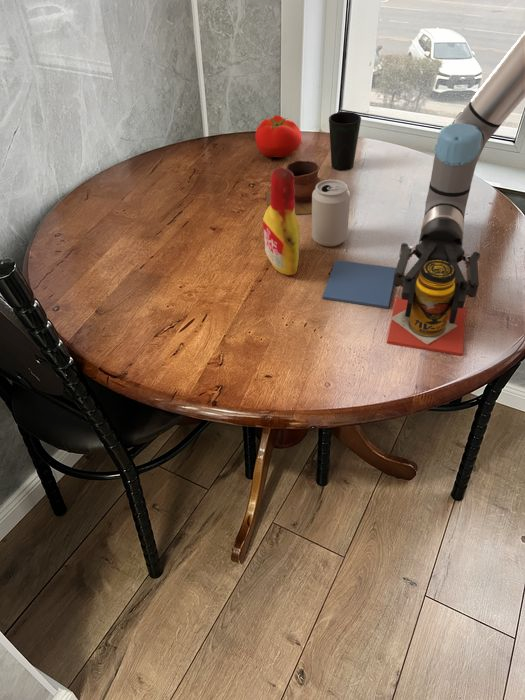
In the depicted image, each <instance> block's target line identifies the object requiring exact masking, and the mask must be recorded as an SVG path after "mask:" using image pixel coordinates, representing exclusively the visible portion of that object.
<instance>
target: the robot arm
mask: <svg viewBox="0 0 525 700" xmlns="http://www.w3.org/2000/svg"><path fill="white" fill-rule="evenodd" d="M524 99H525V30H524V31H523V33H522V34H521V35H520V37H519V38H518V39H517V41H515V43H514V44H513V45H512V47H511V48H510V49H509V50H508V52H507V53H506V54H505V56H504V57H503V58H502V60H501V61H500V62H499V63H498V64H497V66H496V67H495V69H494V70H493V71H492V73H490V75H489V76H488V77H487V79H486V80H485V81H484V83H483V84H482V85H481V87H479V89H478V91H476V93H475V94H474V96H473V97H472V98H471V100H470V101H469V102H468V103H467V105H466V106H465V107H464V108H463V110H461V111H460V112H459V113H458V114H457V116H456V117H455V118H454V120H453V121H452V123H450V124H448V125H445V126H444V127H442V128H441V129H440V131H439V133H438V138H437V142H436V144H435V146H434V158H433V164H432V170H431V175H430V181H429V186H428V192H427V195H426V201H425V208H424V215H423V218H422V223H421V230H420V235H419V241H418V243H416V245H415V246H409V244H408V243H406V242H401V244H400V247H399V248H400V249H399V255H398V257H399V259H398V263H397V265H396V267H395V268H396V270H395V274H394V280H393V287H402V289H401V290H402V291H401V296H400V298H402V299H403V300H408V302H407V308H406V313H405V316H406V317H410V313H411V308H412V302H413V297H414V291H415V286H416V281H417V279H418V277H419V275H420V272H421V271H420V270H421V267H422V265H423V264H424V263H425V262H427V261H430V260H445V261H447V262H449V263H451V264H452V265H453V266H454V267H455V269H456V275H455V281H454V283H455V290H454V296H453V299H452V303H451V309H450V319H449V323H451V324H454V322H455V319H456V315H457V311H458V308H463V307H465V304H466V299H467V296H468V298H469V297H470V298H475V297H476V295H477V293H478V289H479V285H480V279H479V269H478V268H479V267H478V264H479V260H480V257H481V253H480V252H479V251H473V252H472V253H471V254H469V253H466V252H465V249H464V248H463V242H464V241H463V239H464V227H465V216H466V209H467V203H468V200H469V196H470V191H471V188H472V187H471V186H472V182H473V178H474V174H475V170H476V167H477V164H478V161H479V159H480V156H481V155H482V153H483V150H484V148H485V146H486V144H487V142H489V140H490V139H491V137H492V136H493V135H494V134H495V133H496V132H497V131H498V130H499V128H500V127H502V126H501V125H503V123H504V122H505V121H506V120H507V119H508V117H510V115H511V114H513V112H514V110H516V108H517V107H518V106H519V105H520V104H521V103H522V102H523V100H524ZM413 255H414V256H415V257H416V258H417V259H418V260H417V261H416V262H415V263H414V265H413V266H412V267H411V268H410V269H409V271H408V272H407V273H406V274H405V272H406V269H407V267H408V262H409V261H410V260H411V258H412V257H413ZM462 261H463V263H464V265H465V266H464V267H465V268H466V279H465V276H464V275H463V272H462V270H461V268H460V266H459V263H461V262H462Z"/></svg>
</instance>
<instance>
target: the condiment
mask: <svg viewBox="0 0 525 700" xmlns="http://www.w3.org/2000/svg"><path fill="white" fill-rule="evenodd" d="M420 271H421V272H420V275H419V277H418V279H417V281H416V285H415V291H414V297H413V303H412V308H411V313H410V317H406V316H405V313H406V310H404V311H403V312H401V313H399V314H397V315H396V316H393V317H392V316H391V317H390V319H391V320H394V321H395V322H396V323H398V324H399V325H401V326H402V327H404V328H405V329H406V330H407V331H409V332H410V333H411V334H413V335H414V336H415V337H417V338H418V339H420V340H421V341H422V342H424V343H425V344H429V343H431V342H433V341H434V340H436V339H438V338H439V337H441V336H443V335H444V334H446V333H448V332H449V331H451V330H452V329H454V328H455V327H457V325H455V324H451V323H449V320H448V316H449V312H450V307H451V303H452V299H453V296H454V290H455V283H454V281H455V275H456V269H455V267H454V266H453V265H452V264H451V263H449V262H447V261H445V260H430V261H427V262H425V263H424V264H423V265H422V267H421V270H420Z"/></svg>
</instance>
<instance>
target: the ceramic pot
mask: <svg viewBox="0 0 525 700" xmlns="http://www.w3.org/2000/svg"><path fill="white" fill-rule="evenodd" d="M285 168H286V169H288V170H290V171H291V172H292V173H293V174H294V189H295V197H294V200H295V215H302V214H303V215H304V214H305V215H307V214H308V215H309V214H312V193H313V191H314V190H315V189H316V188H315V187H316V185H317V184H318V183H319V182H321V181H324V180H325V179H324V178H321V177H319V175H318V173H319V171H320V165H319V164H317V163H316V162H314V161H310V160H295V161H291V162H290V163H288V164H287V165H286V166H285ZM264 199H266V202H267V204H268V205H269V206H270V205H271V186H270V187H269V189H267V190H266V192H265V197H264Z"/></svg>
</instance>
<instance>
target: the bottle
mask: <svg viewBox="0 0 525 700" xmlns="http://www.w3.org/2000/svg"><path fill="white" fill-rule="evenodd" d="M270 177H271V178H270V187H271V205H270V204H269V205H268V207H267V209H266V210H265V213H264V215H263V218H262V228H263V239H264V250H265V251H264V252H265V254H266V257H267V259H268V260H269V262H270V263H271V265H272V266H273V268H274V269H275V270H276V271H277V272H279V273H280V274H282V275H285V276H292V275H295V274H296V273H297V271H298V266H299V260H300V256H299V255H300V234H301V233H300V232H301V231H300V230H301V228H300V222H299V220H298V217H297V214H295V200H294V197H295V189H294V174H293V173H292V172H291V171H290V170H288V169H286V167H278V168H276V169H275V170H273V171H272V173H271V176H270Z"/></svg>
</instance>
